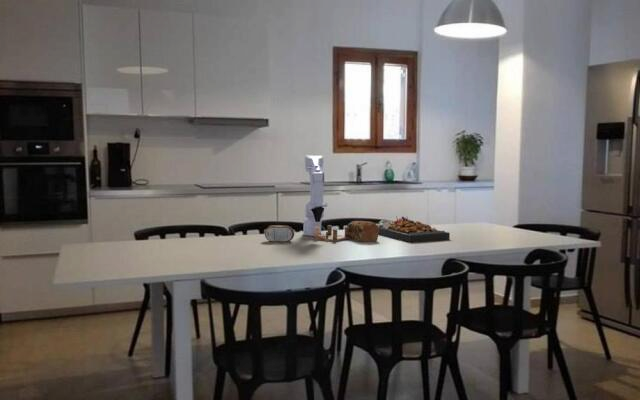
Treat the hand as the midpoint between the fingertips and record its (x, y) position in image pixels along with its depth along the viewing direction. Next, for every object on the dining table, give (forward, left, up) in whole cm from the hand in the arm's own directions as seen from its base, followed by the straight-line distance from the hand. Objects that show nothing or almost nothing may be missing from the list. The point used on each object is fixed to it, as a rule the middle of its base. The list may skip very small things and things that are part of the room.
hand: (317, 221), depth 284 cm
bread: (+16, +18, -10) cm, 26 cm away
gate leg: (-1, +3, -8) cm, 9 cm away
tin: (-14, -14, -10) cm, 22 cm away
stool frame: (+3, +9, -10) cm, 14 cm away
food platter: (+28, +45, -11) cm, 54 cm away
